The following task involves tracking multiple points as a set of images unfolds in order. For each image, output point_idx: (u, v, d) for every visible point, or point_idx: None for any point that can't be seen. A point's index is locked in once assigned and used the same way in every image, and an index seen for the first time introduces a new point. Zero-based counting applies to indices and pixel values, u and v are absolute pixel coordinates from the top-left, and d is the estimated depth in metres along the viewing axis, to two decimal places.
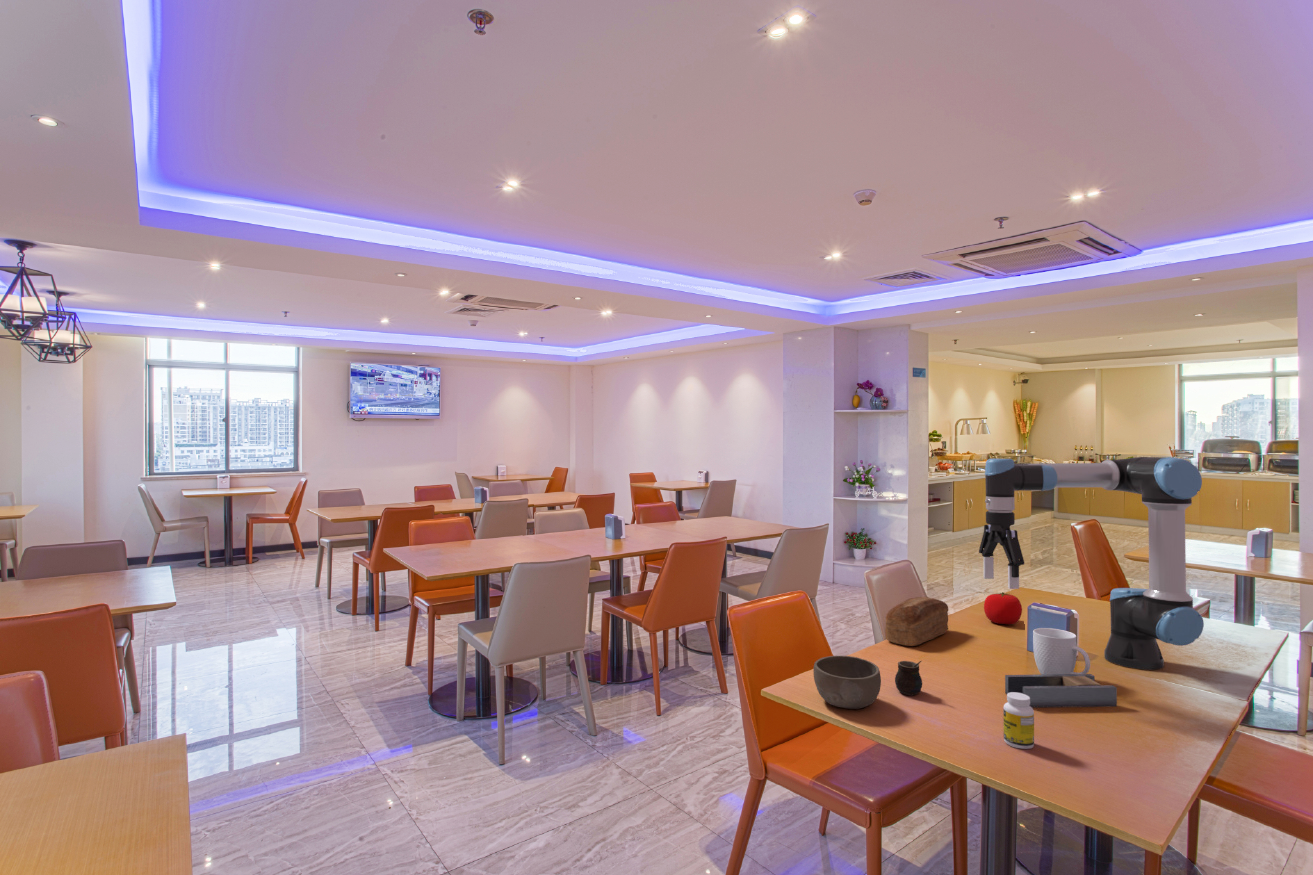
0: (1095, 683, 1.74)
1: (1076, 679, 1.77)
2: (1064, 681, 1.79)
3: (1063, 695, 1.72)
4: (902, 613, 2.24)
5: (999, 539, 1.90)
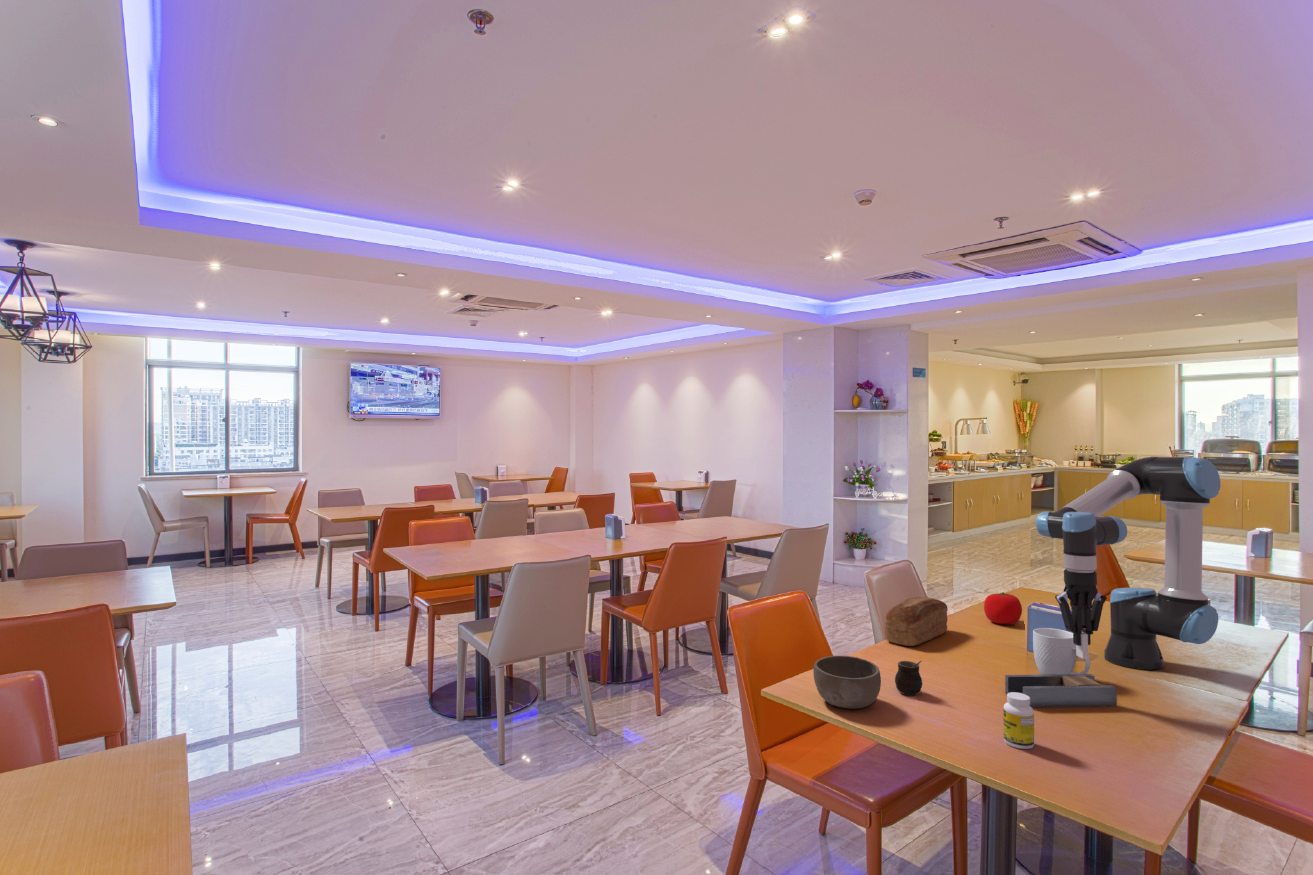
0: (1095, 683, 1.74)
1: (1076, 679, 1.77)
2: (1064, 681, 1.79)
3: (1063, 695, 1.72)
4: (902, 613, 2.24)
5: None
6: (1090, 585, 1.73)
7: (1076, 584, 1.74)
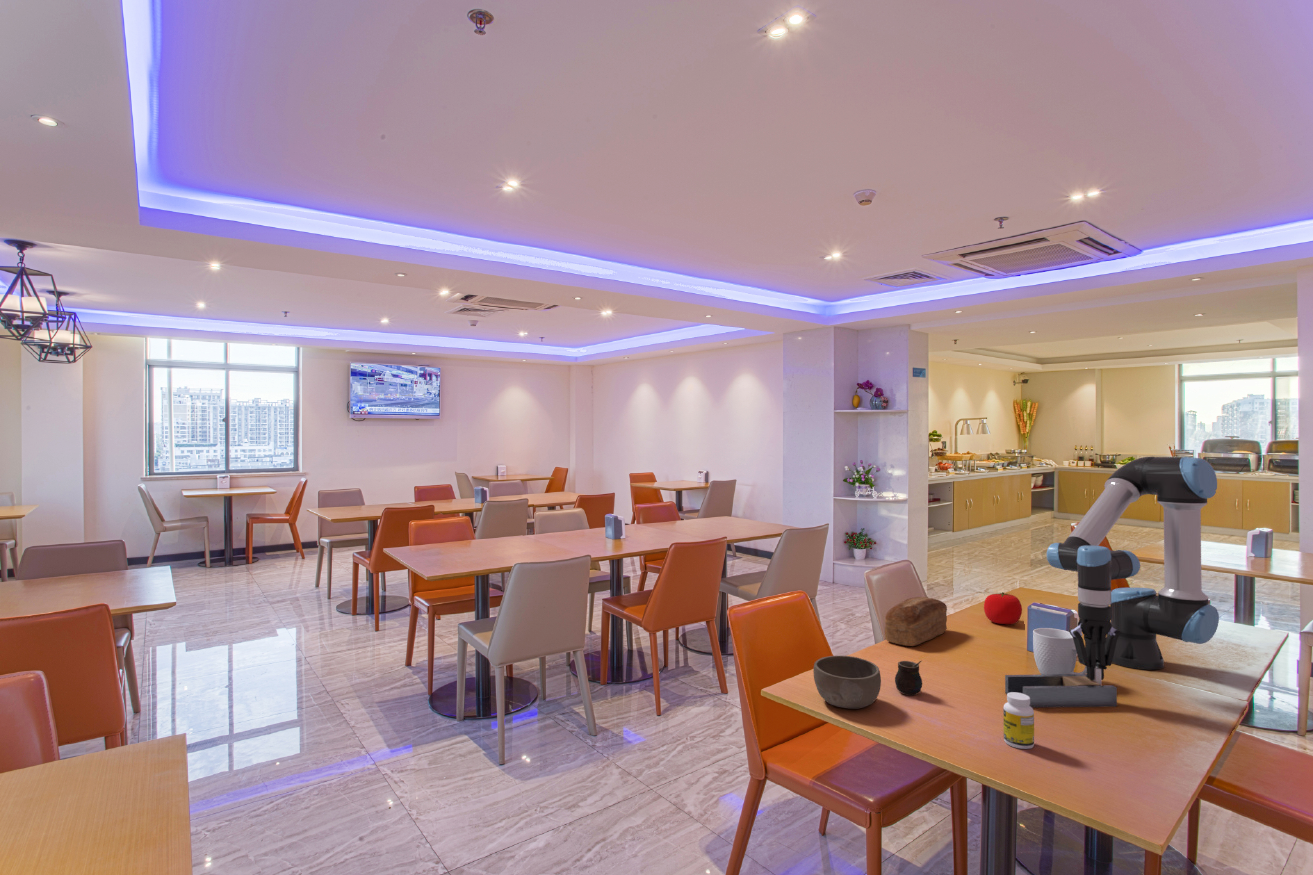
0: (1095, 683, 1.74)
1: (1076, 679, 1.77)
2: (1064, 681, 1.79)
3: (1063, 695, 1.72)
4: (902, 613, 2.24)
5: None
6: (1105, 620, 1.73)
7: (1090, 618, 1.74)
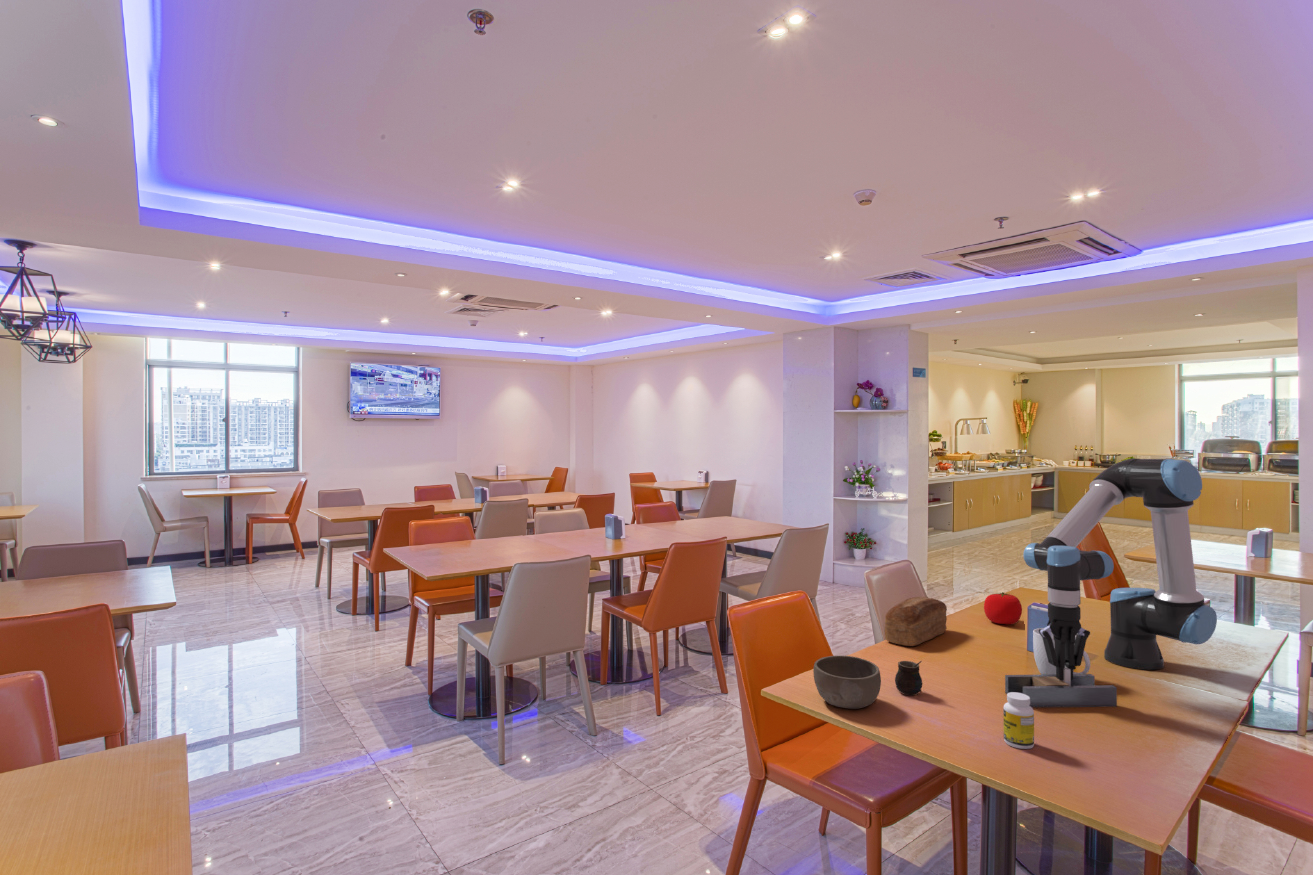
0: (1064, 683, 1.74)
1: (1046, 680, 1.77)
2: (1034, 682, 1.79)
3: (1063, 695, 1.72)
4: (902, 613, 2.24)
5: None
6: (1073, 620, 1.73)
7: (1059, 619, 1.74)
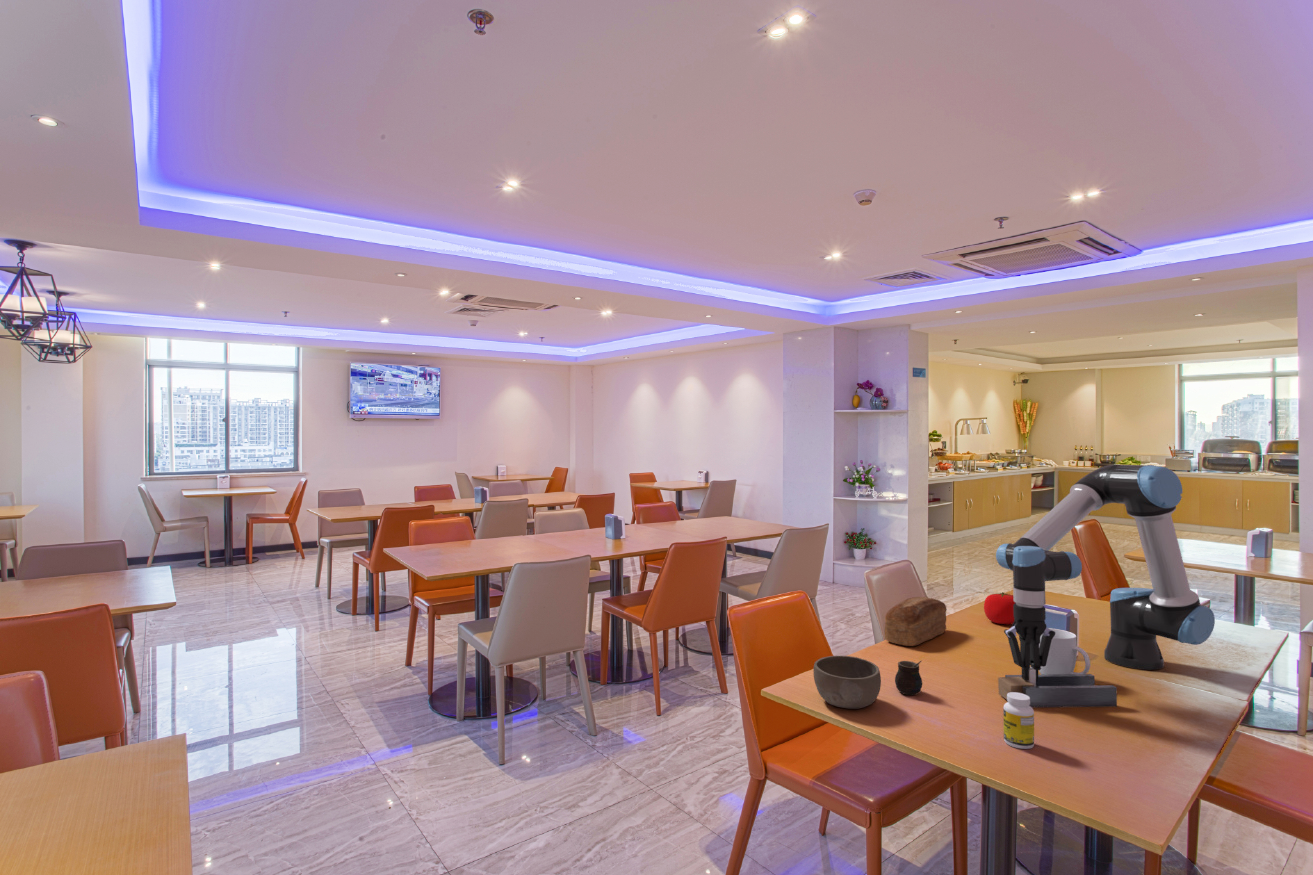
0: (1029, 684, 1.74)
1: (1011, 680, 1.77)
2: (999, 682, 1.79)
3: (1063, 695, 1.72)
4: (902, 613, 2.24)
5: None
6: (1038, 620, 1.73)
7: (1024, 619, 1.74)
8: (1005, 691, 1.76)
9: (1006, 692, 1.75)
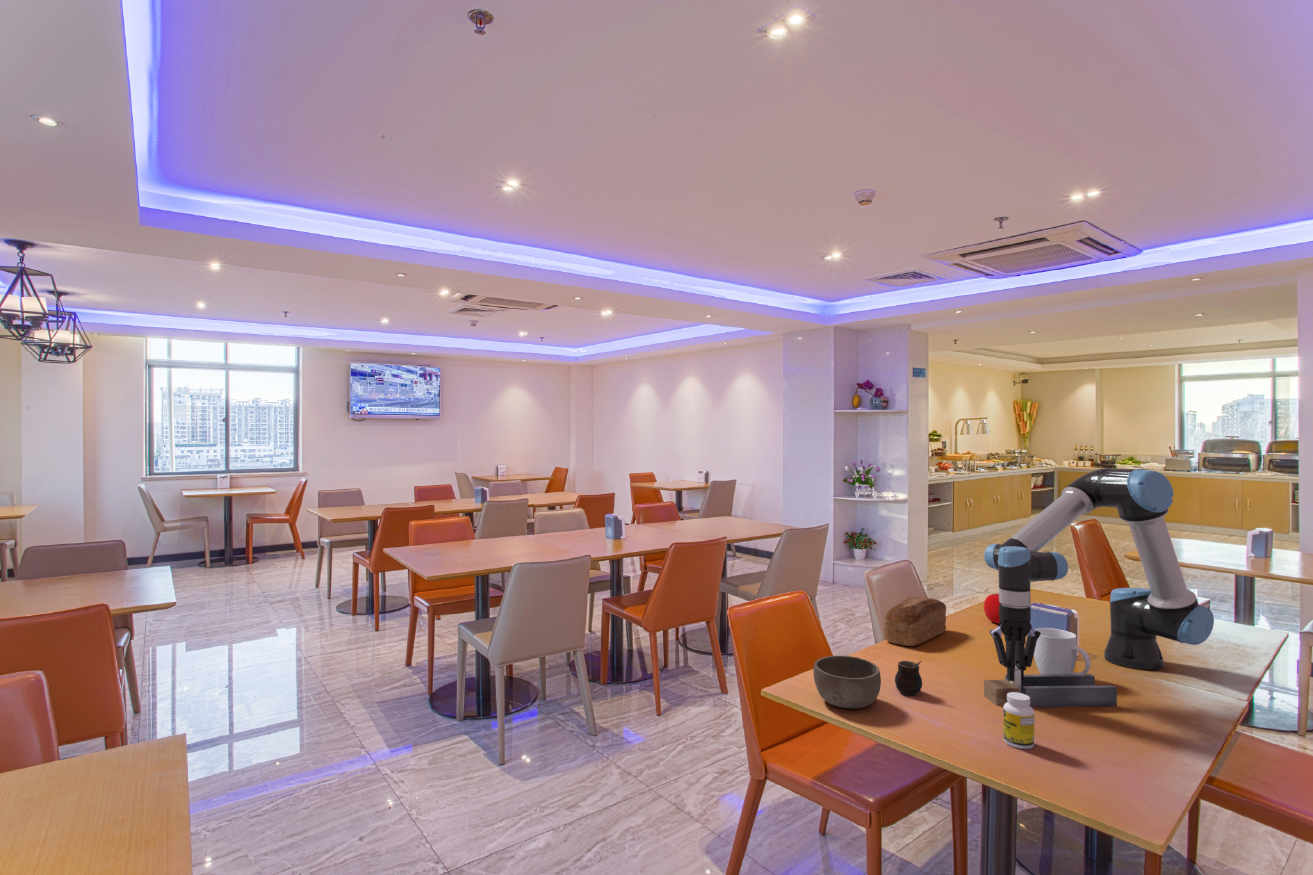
0: (1014, 687, 1.74)
1: (997, 683, 1.77)
2: (985, 685, 1.78)
3: (1063, 695, 1.72)
4: (902, 613, 2.24)
5: None
6: (1023, 621, 1.73)
7: (1009, 619, 1.74)
8: (990, 694, 1.76)
9: (991, 695, 1.75)
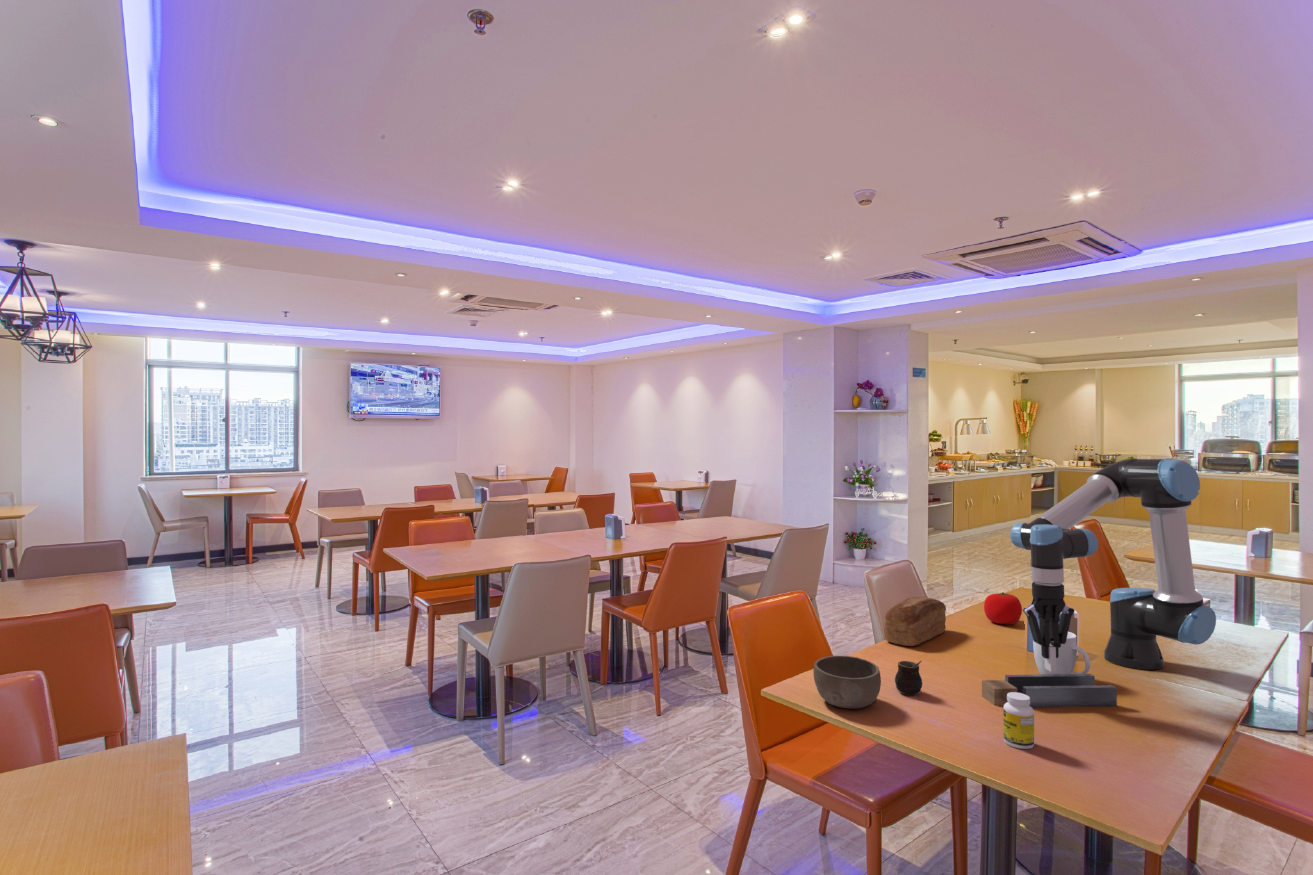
0: (1012, 687, 1.74)
1: (995, 683, 1.77)
2: (983, 685, 1.78)
3: (1063, 695, 1.72)
4: (902, 613, 2.24)
5: None
6: (1057, 598, 1.73)
7: (1043, 597, 1.74)
8: (988, 694, 1.76)
9: (989, 695, 1.75)
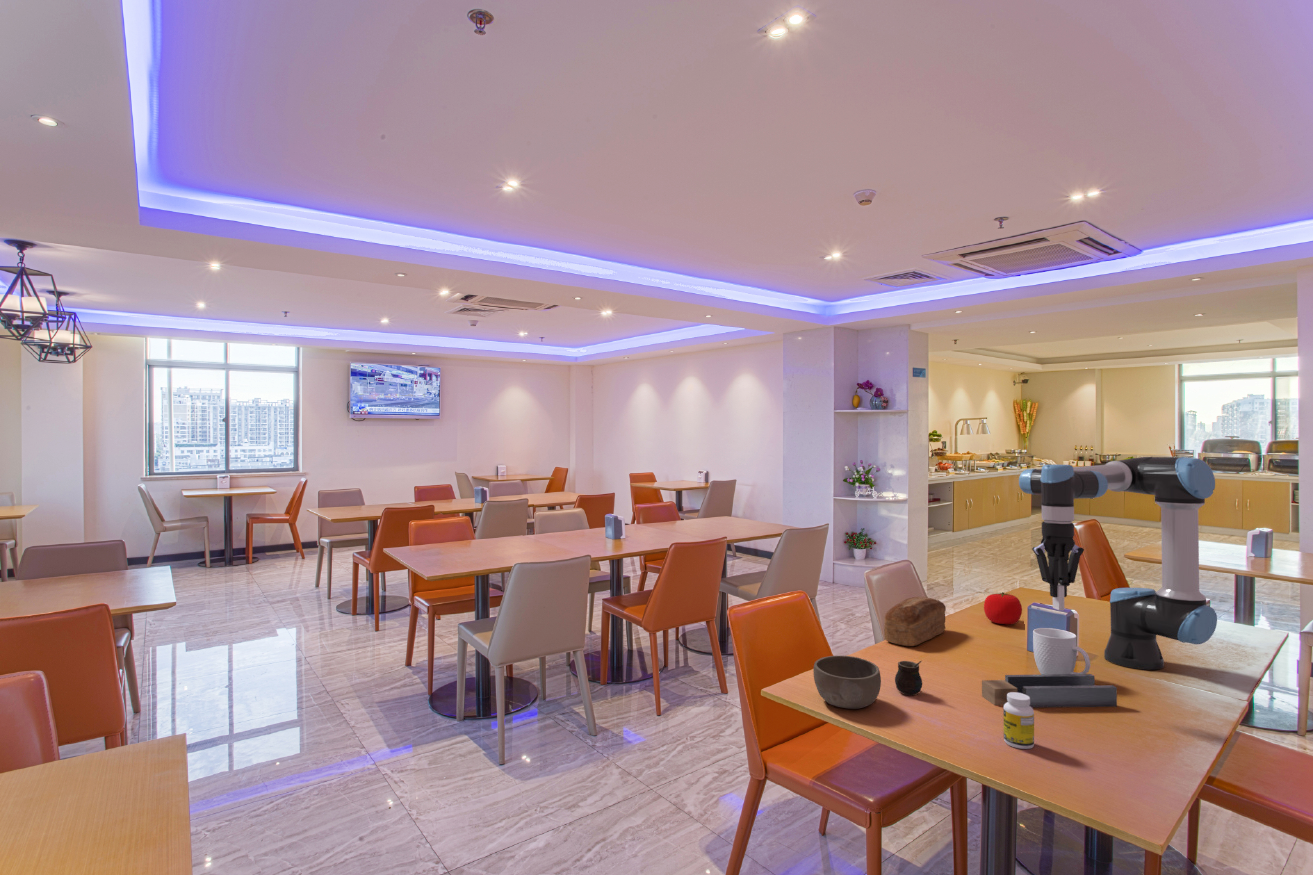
0: (1012, 687, 1.74)
1: (995, 683, 1.77)
2: (983, 685, 1.78)
3: (1063, 695, 1.72)
4: (902, 613, 2.24)
5: None
6: (1067, 536, 1.73)
7: (1053, 535, 1.74)
8: (988, 694, 1.76)
9: (990, 695, 1.75)
